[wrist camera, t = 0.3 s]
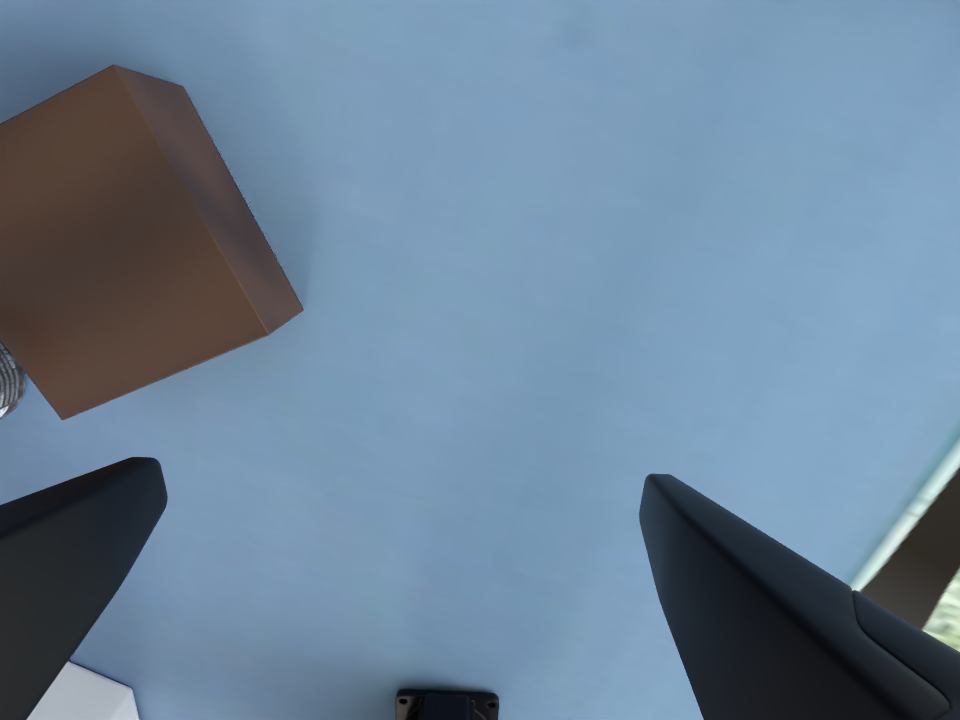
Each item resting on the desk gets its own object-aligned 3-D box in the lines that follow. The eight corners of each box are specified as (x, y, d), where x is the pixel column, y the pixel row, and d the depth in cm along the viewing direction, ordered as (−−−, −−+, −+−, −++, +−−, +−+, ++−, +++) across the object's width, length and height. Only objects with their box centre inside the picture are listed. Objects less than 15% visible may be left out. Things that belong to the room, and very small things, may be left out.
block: (304, 310, 23) (269, 335, 19) (126, 384, 24) (61, 420, 21) (183, 85, 20) (113, 63, 16) (-13, 185, 21) (-120, 186, 17)
